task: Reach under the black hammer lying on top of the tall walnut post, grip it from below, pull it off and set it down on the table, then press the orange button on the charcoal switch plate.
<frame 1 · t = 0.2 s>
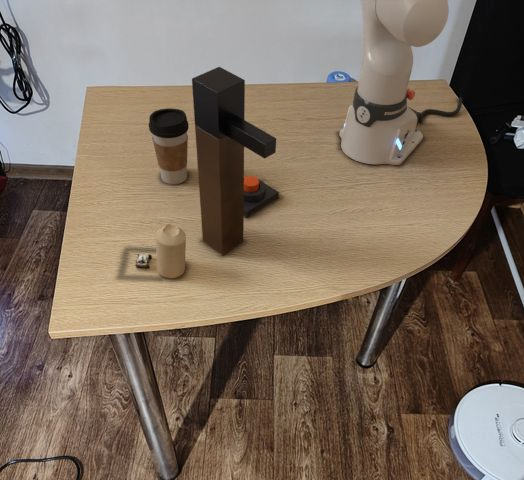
toy car: (143, 264, 110), on the table, touching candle
post: (223, 241, 115), on the table
switch plate: (250, 199, 124), on the table
switch button: (250, 184, 120), point 4 cm above the table, slide at 0.2 cm
black hammer: (219, 125, 94), point 26 cm above the table, touching post
coffee cup: (174, 177, 128), on the table
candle: (171, 269, 109), on the table, touching toy car
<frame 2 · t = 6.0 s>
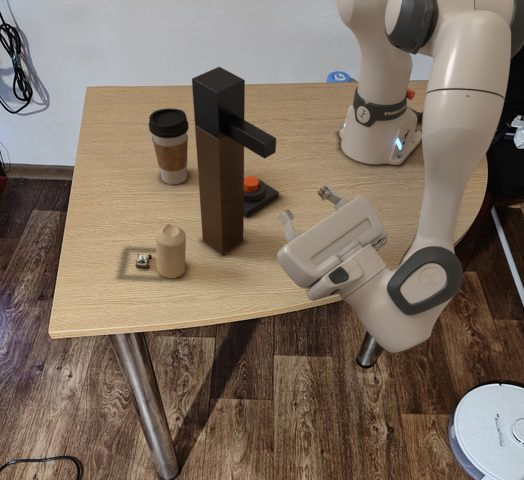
hand: (302, 199, 90), 22 cm above the table, tool pointing upward, fingers open, 8 cm apart
nothing on the table moved.
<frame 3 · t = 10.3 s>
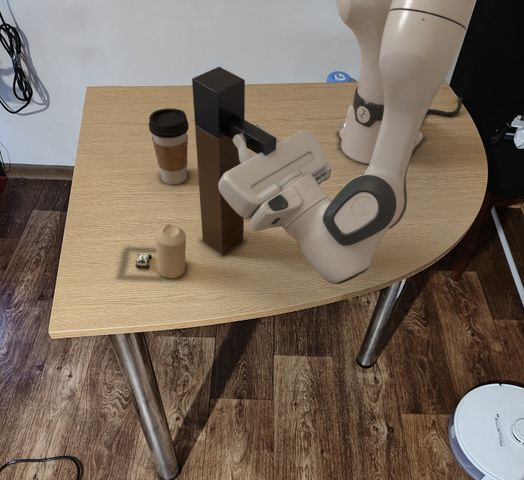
hand: (245, 131, 90), 28 cm above the table, tool pointing upward, fingers closed on black hammer, 2 cm apart
black hammer: (219, 125, 94), point 26 cm above the table, touching gripper, post
everything else where it was.
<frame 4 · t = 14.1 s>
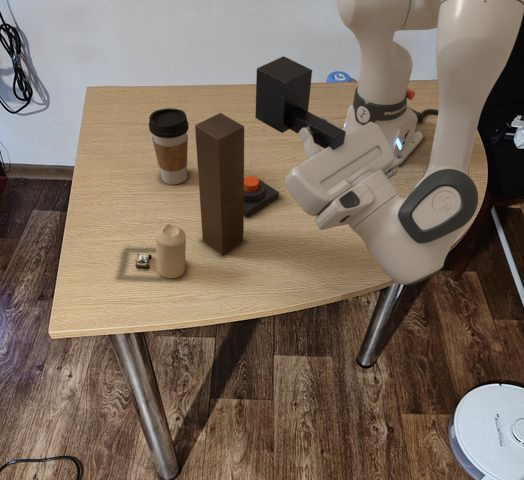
hand: (311, 124, 86), 31 cm above the table, tool pointing upward, fingers closed on black hammer, 2 cm apart
black hammer: (281, 118, 90), point 30 cm above the table, touching gripper
everything else where it was.
when the fingers open (16 cm above the table, at t = 18.1 s): black hammer drops 14 cm, on the table.
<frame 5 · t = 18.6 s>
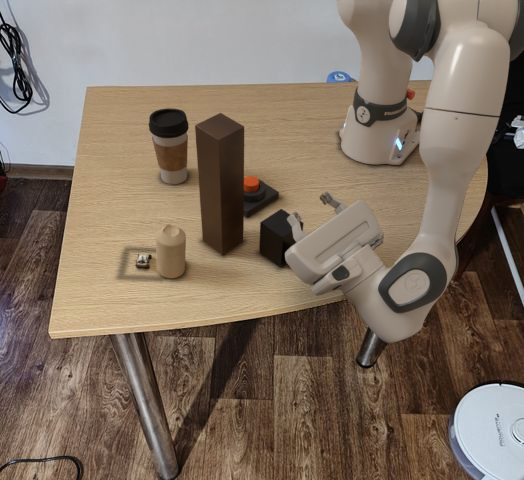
hand: (307, 203, 99), 16 cm above the table, tool pointing upward, fingers open, 7 cm apart
black hammer: (279, 253, 113), on the table
everything else where it was.
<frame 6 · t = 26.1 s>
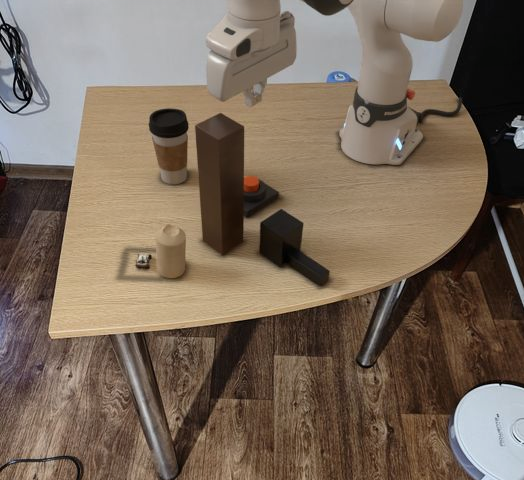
hand: (253, 103, 105), 23 cm above the table, tool pointing down, fingers closed
nothing on the table moved.
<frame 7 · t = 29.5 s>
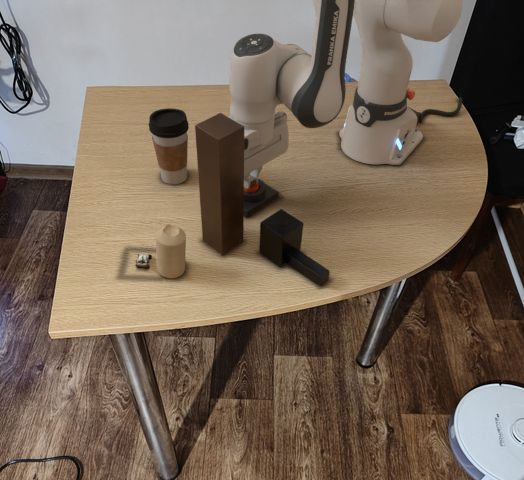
hand: (250, 185, 120), 4 cm above the table, tool pointing down, fingers closed, pressing on switch button
switch button: (250, 187, 121), point 3 cm above the table, slide at -0.8 cm, touching gripper
everything else where it was.
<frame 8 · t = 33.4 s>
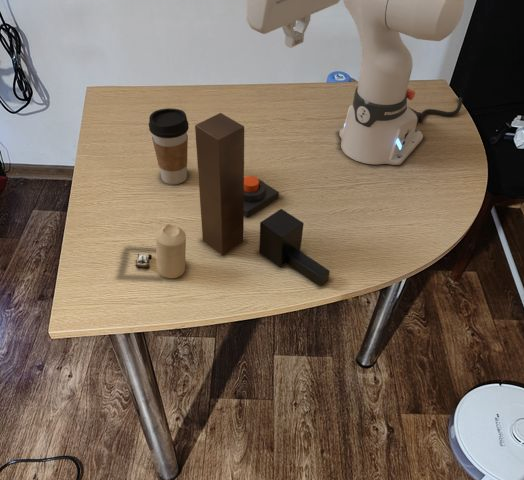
hand: (294, 44, 96), 34 cm above the table, tool pointing down, fingers closed
switch button: (250, 184, 120), point 4 cm above the table, slide at 0.1 cm
everything else where it was.
at the end: black hammer on the table; switch button pushed in 1.0 cm at the most during the clip, back to where it started at the end; switch button slide at 0.1 cm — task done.
